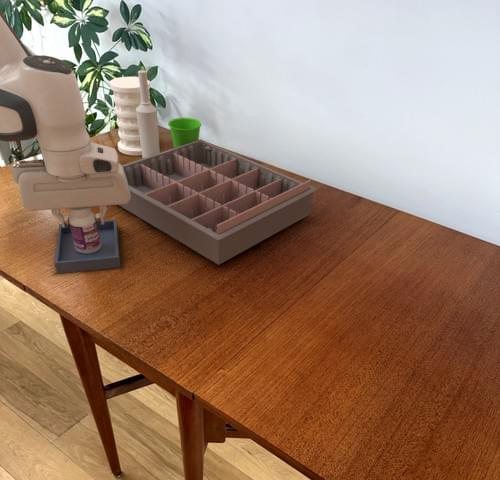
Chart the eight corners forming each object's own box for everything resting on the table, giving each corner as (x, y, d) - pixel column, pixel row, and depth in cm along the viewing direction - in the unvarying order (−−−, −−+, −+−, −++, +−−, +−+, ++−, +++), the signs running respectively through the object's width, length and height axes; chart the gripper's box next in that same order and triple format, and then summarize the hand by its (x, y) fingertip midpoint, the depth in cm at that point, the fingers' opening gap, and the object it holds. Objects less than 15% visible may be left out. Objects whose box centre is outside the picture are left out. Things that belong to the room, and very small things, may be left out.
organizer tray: (201, 167, 131) (200, 131, 124) (313, 219, 112) (319, 180, 105) (105, 204, 114) (97, 164, 107) (218, 273, 94) (218, 230, 88)
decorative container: (110, 147, 139) (99, 81, 126) (140, 137, 145) (132, 73, 133) (135, 158, 133) (126, 91, 121) (165, 148, 140) (159, 82, 128)
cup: (207, 159, 135) (206, 120, 128) (195, 171, 129) (194, 131, 121) (178, 154, 137) (175, 115, 129) (165, 166, 131) (162, 126, 123)
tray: (57, 273, 92) (54, 263, 91) (61, 233, 103) (58, 223, 101) (120, 267, 95) (118, 257, 93) (117, 229, 105) (116, 219, 104)
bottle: (157, 178, 125) (146, 75, 108) (140, 174, 126) (127, 72, 109) (165, 170, 129) (157, 70, 112) (149, 167, 130) (137, 67, 113)
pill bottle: (92, 257, 96) (82, 215, 89) (70, 251, 97) (59, 209, 91) (106, 244, 100) (98, 203, 93) (85, 238, 101) (76, 197, 94)
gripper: (5, 168, 81) (28, 237, 90) (125, 162, 85) (135, 228, 95) (10, 154, 85) (31, 221, 95) (123, 148, 89) (133, 213, 99)
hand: (84, 224), depth 95 cm, fingers closed on pill bottle, 5 cm apart
